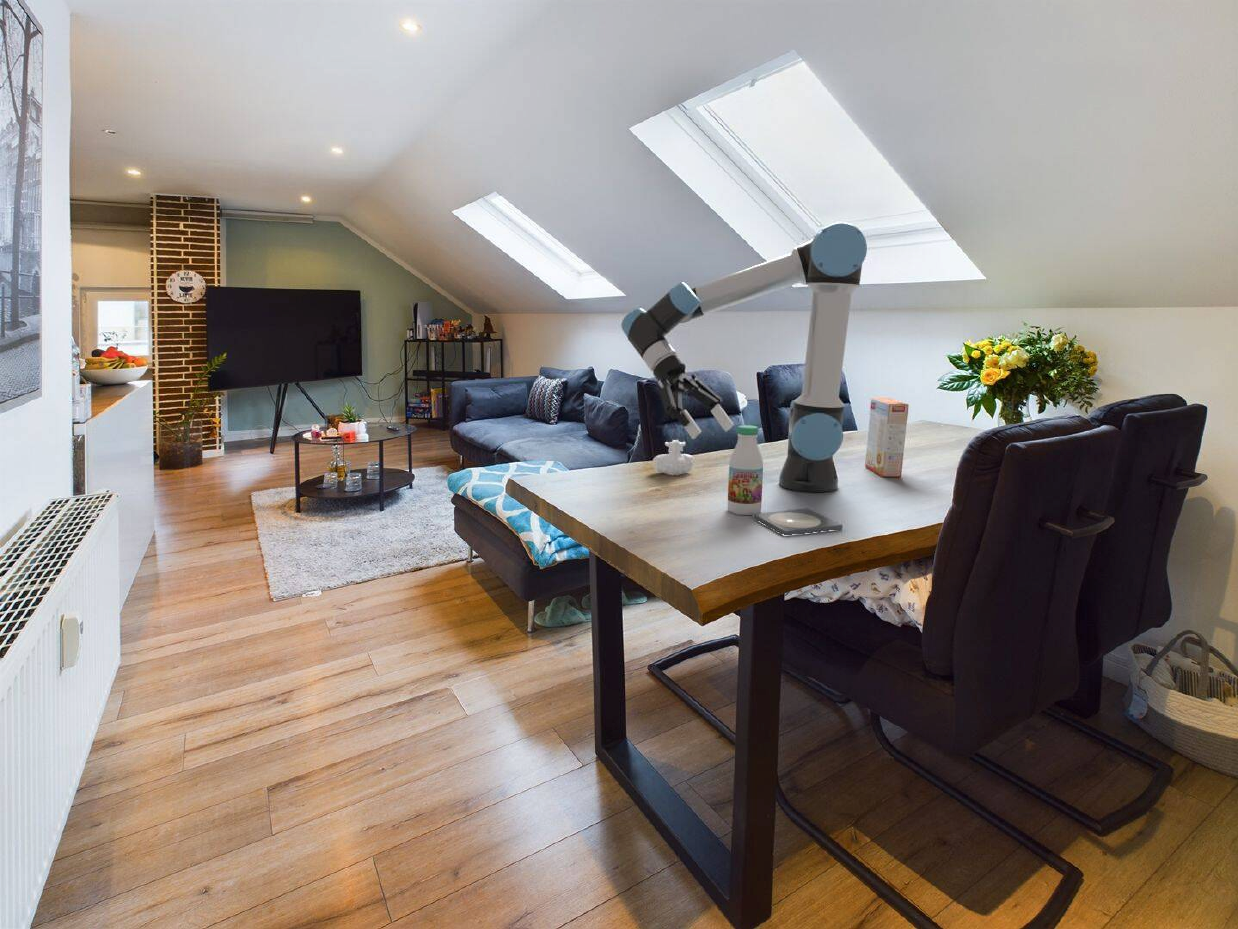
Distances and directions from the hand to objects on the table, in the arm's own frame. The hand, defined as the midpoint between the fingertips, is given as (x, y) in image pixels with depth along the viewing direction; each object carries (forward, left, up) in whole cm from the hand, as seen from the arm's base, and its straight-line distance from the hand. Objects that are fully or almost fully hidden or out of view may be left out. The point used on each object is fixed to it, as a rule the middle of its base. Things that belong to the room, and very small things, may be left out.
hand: (714, 431), depth 159 cm
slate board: (-11, +20, -18) cm, 29 cm away
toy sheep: (-4, -32, -18) cm, 37 cm away
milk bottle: (-5, +7, -18) cm, 20 cm away
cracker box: (-63, -16, -18) cm, 67 cm away
